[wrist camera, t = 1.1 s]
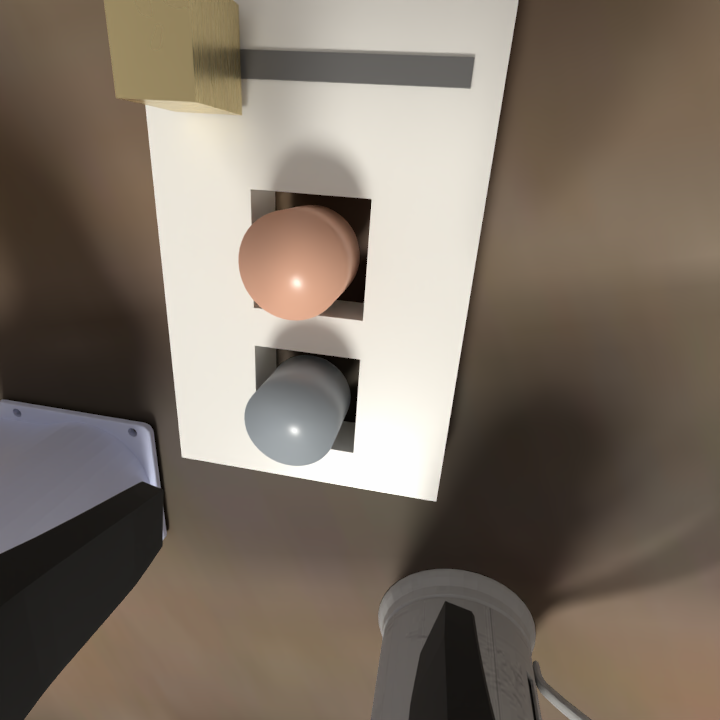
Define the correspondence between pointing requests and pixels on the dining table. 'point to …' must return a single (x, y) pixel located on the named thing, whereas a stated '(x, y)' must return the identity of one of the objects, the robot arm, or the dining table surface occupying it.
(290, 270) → the terracotta button
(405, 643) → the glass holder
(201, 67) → the brass slider
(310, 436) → the slate button
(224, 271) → the white flat block
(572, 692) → the dining table surface
